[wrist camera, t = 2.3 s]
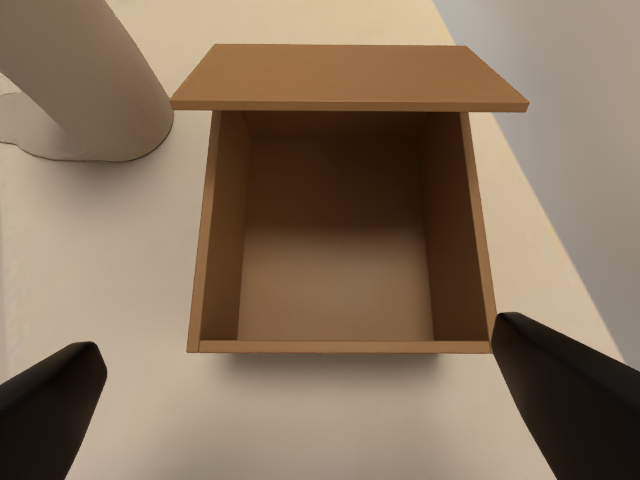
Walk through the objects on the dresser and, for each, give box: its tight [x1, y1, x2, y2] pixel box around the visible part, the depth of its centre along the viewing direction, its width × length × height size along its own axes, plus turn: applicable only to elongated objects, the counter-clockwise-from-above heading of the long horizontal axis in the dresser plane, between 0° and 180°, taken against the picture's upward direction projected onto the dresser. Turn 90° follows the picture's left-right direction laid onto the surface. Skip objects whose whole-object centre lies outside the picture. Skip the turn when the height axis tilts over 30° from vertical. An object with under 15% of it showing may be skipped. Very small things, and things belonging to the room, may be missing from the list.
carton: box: [186, 110, 497, 354], centre depth 20 cm, size 15×13×8 cm
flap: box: [169, 44, 529, 112], centre depth 15 cm, size 7×13×1 cm
